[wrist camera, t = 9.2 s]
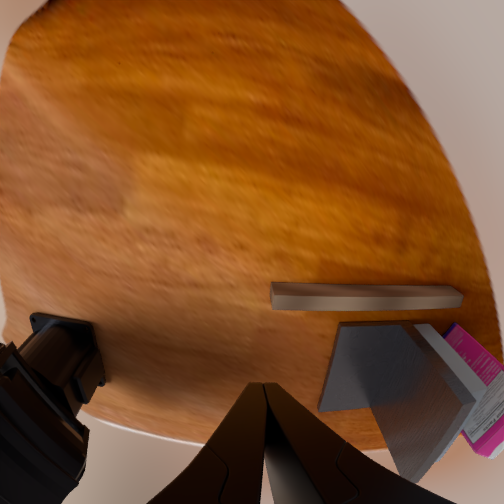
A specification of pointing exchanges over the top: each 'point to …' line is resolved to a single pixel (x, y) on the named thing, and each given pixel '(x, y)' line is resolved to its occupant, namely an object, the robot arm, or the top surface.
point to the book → (454, 370)
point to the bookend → (397, 390)
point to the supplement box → (494, 400)
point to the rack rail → (361, 297)
